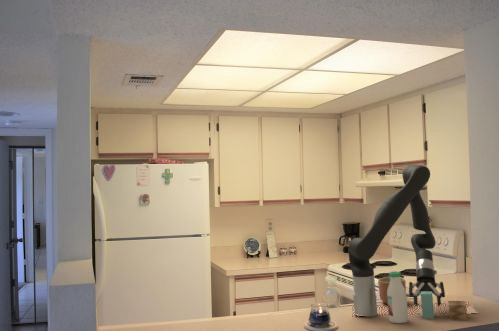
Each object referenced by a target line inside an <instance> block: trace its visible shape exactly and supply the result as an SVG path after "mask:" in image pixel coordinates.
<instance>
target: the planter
mask: <svg viewBox="0 0 499 331" xmlns="http://www.w3.org/2000/svg"><path fill="white" fill-rule="evenodd" d="M400 280H401V282H402V285H403V286H404V288H405V291H406V292H407V290H406V289H407V288H406V287H407V286H406V284H407V282H406V279H405V278H403V277H401V278H400ZM389 283H390V278H389V276H387V277H380V278H379V279H377V285H378V291H379V292H378V293H379V294H378V295H379V298H380V300H381V302H383V303H384V304H386V305H388V301H387V289H388V286H389Z"/></svg>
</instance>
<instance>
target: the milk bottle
mask: <svg viewBox="0 0 499 331" xmlns="http://www.w3.org/2000/svg"><path fill="white" fill-rule="evenodd" d="M401 276H402V275H401V272H400V271H390V272H389V273H388V277H389V278H390V283H389V286H388V289H387V301H388V304H387V311H388V320H389V322H390V323H392V324H405V323H408V322H409V312H408V310H409V309H408V300H407V290H406V291H405V288H404V286H403V285H402V282H401V280H400V278H402V277H401Z"/></svg>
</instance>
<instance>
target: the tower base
mask: <svg viewBox="0 0 499 331" xmlns="http://www.w3.org/2000/svg"><path fill="white" fill-rule="evenodd" d="M466 306H467V303H466V300H448V313H449V320H455V321H457V320H458V321H468V314H467V308H466Z"/></svg>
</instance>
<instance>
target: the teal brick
mask: <svg viewBox="0 0 499 331" xmlns="http://www.w3.org/2000/svg"><path fill="white" fill-rule="evenodd" d="M420 302H421V312H422V314H421V316H422V319H435V310H434V308H435V307H434V298H433V293H432V291H421V294H420Z"/></svg>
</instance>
